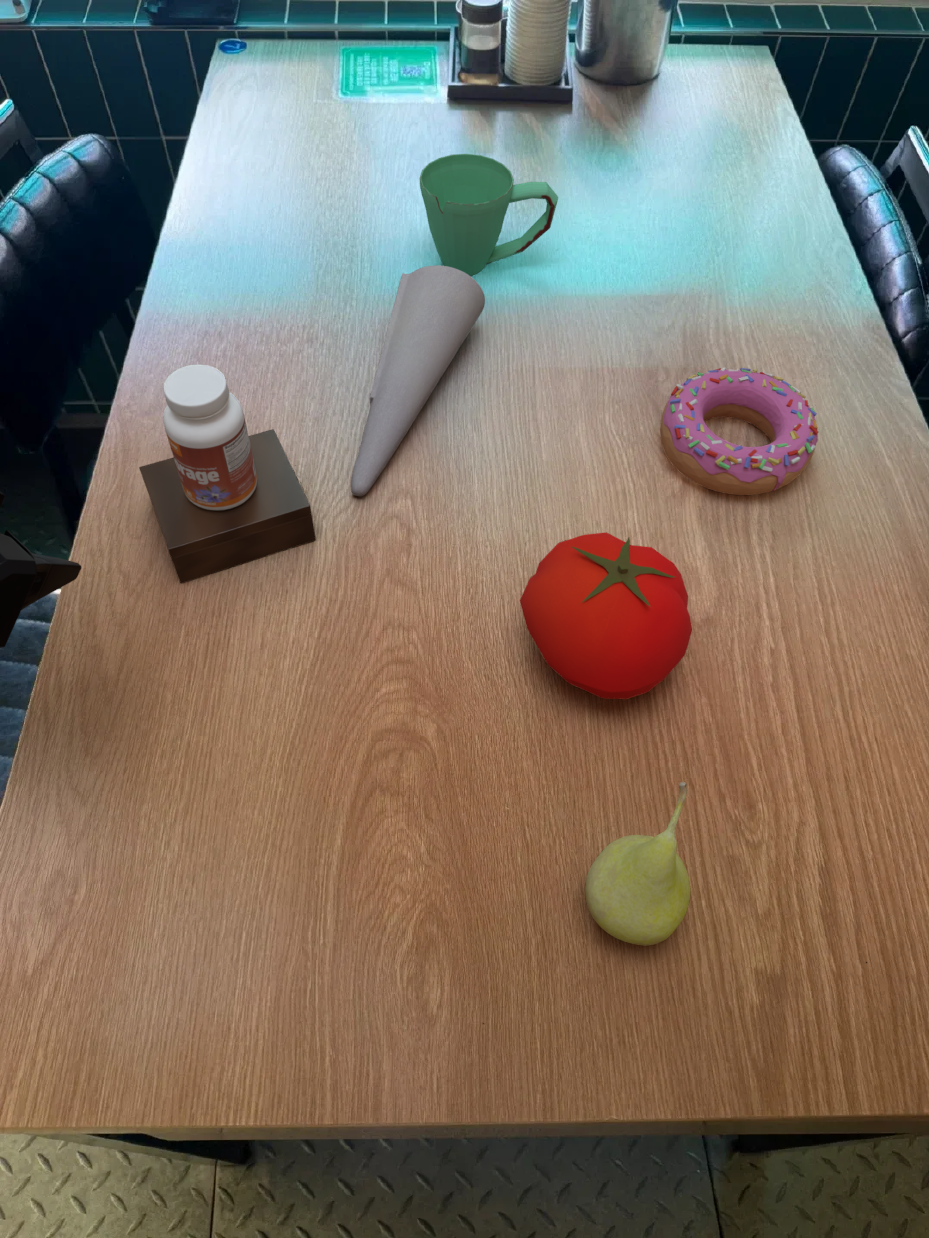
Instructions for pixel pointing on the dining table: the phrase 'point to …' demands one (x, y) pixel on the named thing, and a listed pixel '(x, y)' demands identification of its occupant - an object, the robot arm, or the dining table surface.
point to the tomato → (608, 615)
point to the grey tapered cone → (414, 359)
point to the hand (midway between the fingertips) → (38, 534)
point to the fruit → (640, 885)
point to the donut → (749, 401)
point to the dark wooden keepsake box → (231, 515)
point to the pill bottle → (208, 438)
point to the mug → (477, 209)
